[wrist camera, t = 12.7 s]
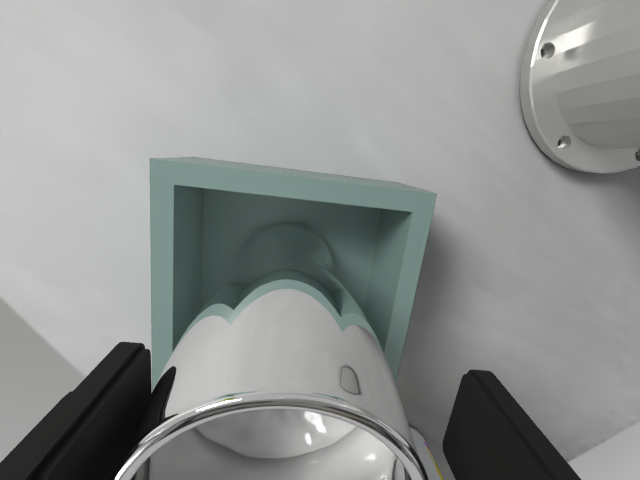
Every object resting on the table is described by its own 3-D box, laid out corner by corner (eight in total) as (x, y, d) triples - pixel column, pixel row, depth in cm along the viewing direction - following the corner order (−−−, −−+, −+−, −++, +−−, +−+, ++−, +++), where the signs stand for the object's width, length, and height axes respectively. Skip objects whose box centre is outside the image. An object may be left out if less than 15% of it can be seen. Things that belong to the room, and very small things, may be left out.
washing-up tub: (397, 182, 21) (437, 193, 15) (365, 354, 24) (388, 417, 18) (192, 157, 19) (149, 158, 14) (188, 343, 23) (152, 408, 17)
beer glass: (231, 213, 19) (51, 389, 5) (343, 217, 20) (472, 382, 6) (234, 316, 21) (108, 660, 7) (336, 316, 22) (420, 633, 7)
